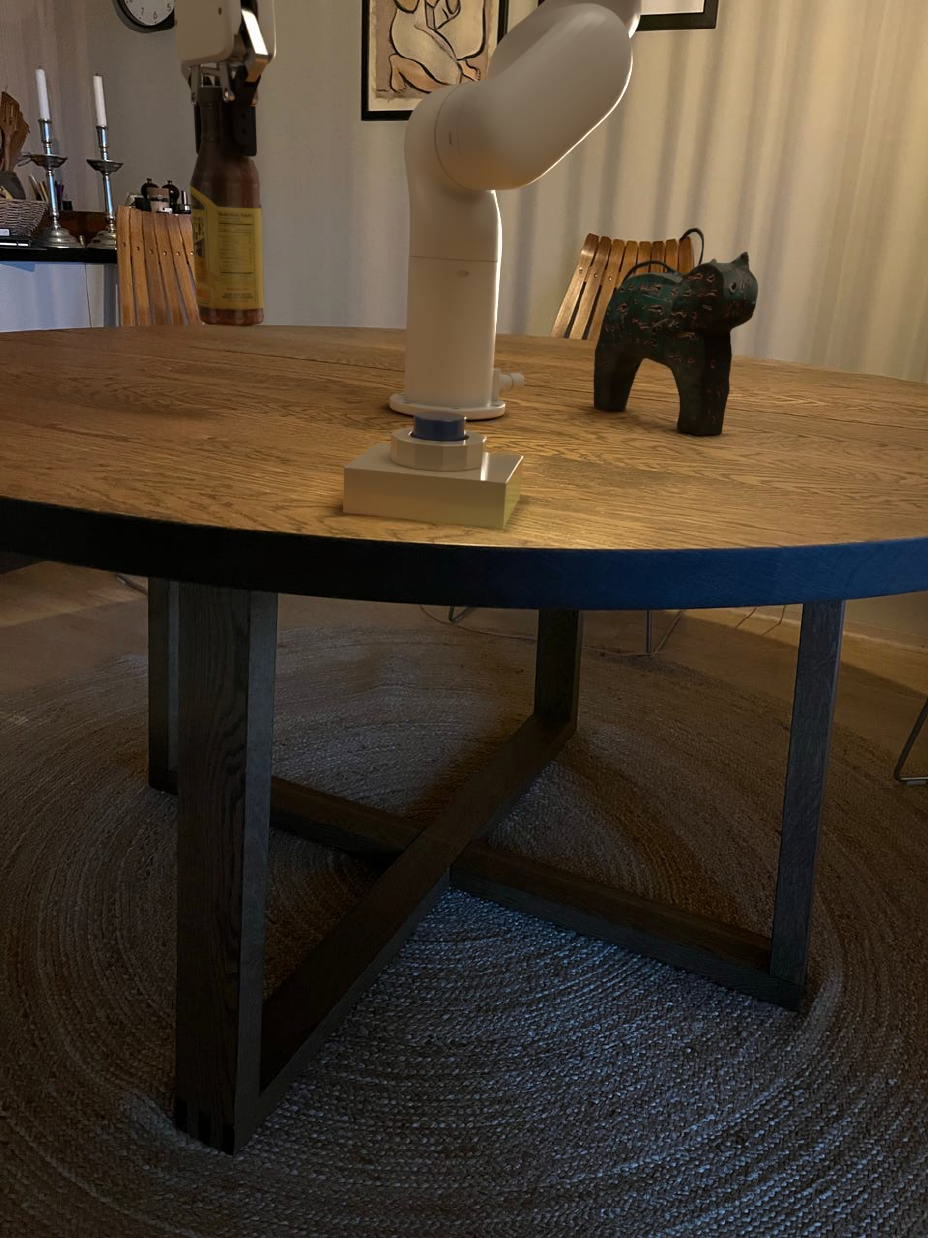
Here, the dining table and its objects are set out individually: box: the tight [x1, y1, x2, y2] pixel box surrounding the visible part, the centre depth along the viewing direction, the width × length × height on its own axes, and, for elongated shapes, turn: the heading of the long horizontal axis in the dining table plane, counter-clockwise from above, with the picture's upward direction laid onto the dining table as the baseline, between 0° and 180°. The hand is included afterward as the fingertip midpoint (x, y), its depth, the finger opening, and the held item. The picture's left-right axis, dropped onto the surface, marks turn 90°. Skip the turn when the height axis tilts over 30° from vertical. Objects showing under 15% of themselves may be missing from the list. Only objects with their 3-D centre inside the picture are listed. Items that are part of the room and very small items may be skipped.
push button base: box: [342, 426, 524, 530], centre depth 70 cm, size 9×11×5 cm
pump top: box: [412, 411, 467, 442], centre depth 69 cm, size 4×4×2 cm
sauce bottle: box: [189, 85, 265, 328], centre depth 90 cm, size 6×6×20 cm
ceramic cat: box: [592, 227, 759, 437], centre depth 106 cm, size 20×6×20 cm, turn 32°
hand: (226, 153), depth 88 cm, fingers closed on sauce bottle, 4 cm apart
